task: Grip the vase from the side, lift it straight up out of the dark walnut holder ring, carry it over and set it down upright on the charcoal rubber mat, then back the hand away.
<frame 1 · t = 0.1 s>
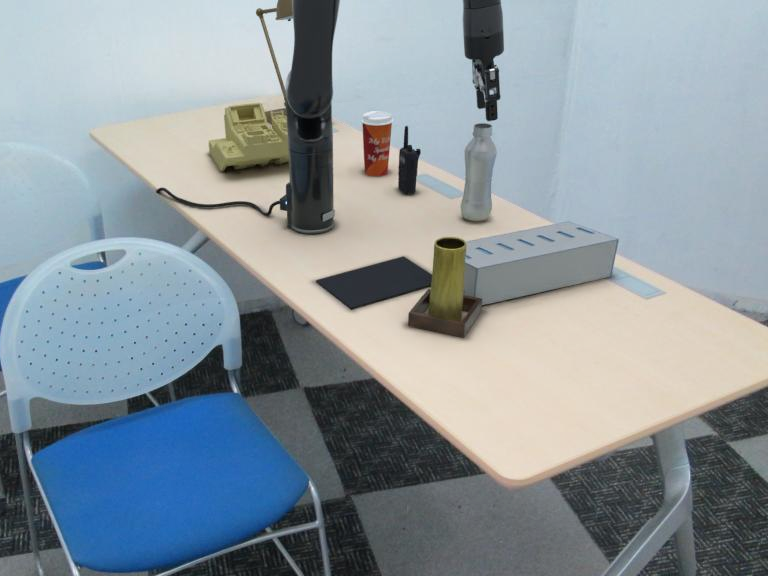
hand: (487, 113, 173), 22 cm above the table, tool pointing down, fingers open, 8 cm apart
mat: (378, 282, 162), on the table
holder: (445, 318, 150), on the table
paper cup: (376, 173, 211), on the table
two-way radio: (409, 192, 200), on the table
lamp: (289, 118, 252), on the table
warehouse: (521, 276, 162), on the table, touching mat
control panel: (253, 163, 220), on the table
vase: (444, 319, 150), resting in holder
plastic bottle: (475, 219, 186), on the table
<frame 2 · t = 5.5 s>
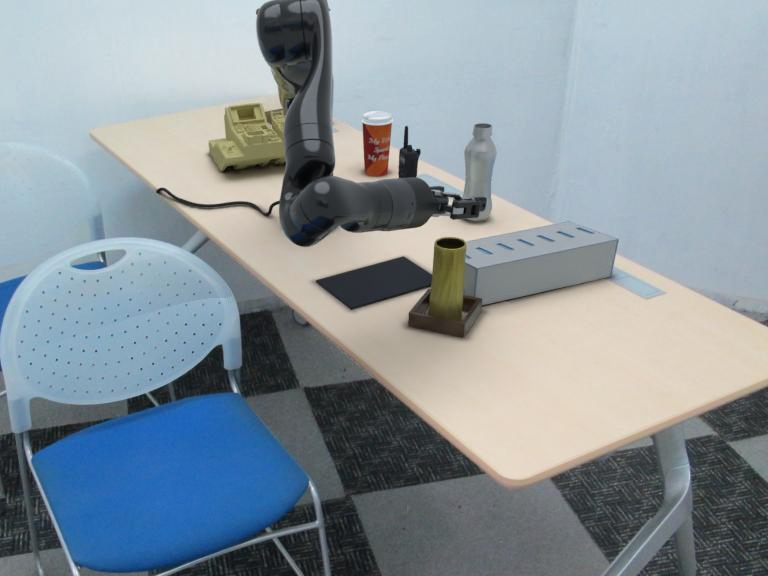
hand: (462, 198, 138), 22 cm above the table, tool horizontal, fingers open, 8 cm apart
nothing on the table moved.
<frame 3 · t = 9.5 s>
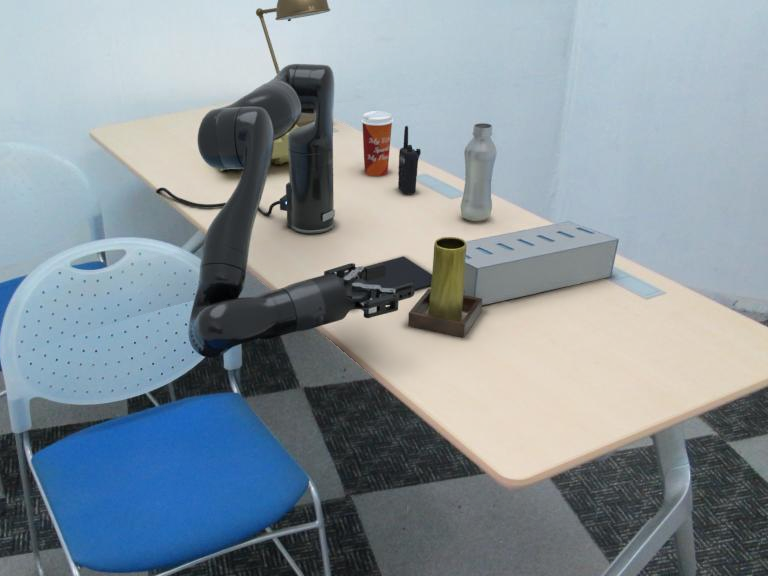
hand: (398, 279, 140), 10 cm above the table, tool horizontal, fingers open, 8 cm apart
nothing on the table moved.
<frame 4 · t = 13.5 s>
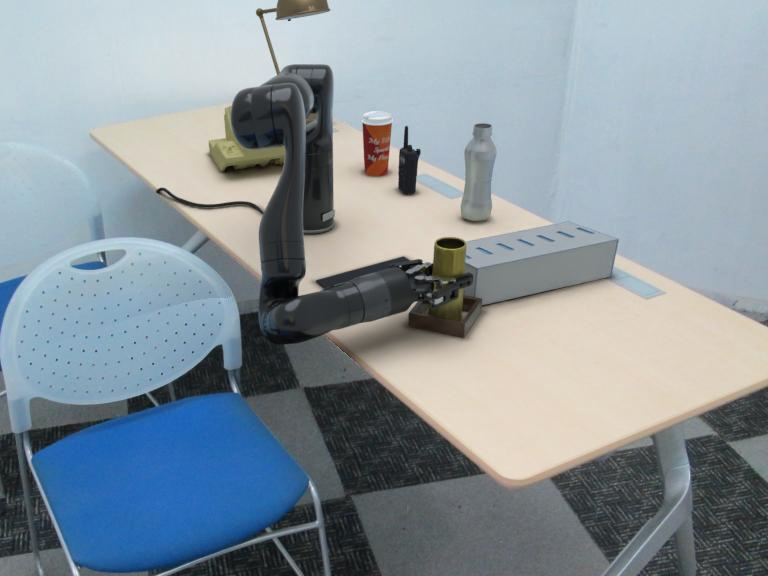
hand: (460, 271, 146), 8 cm above the table, tool horizontal, fingers closed on vase, 5 cm apart
vase: (444, 319, 150), resting in holder, touching gripper
everything else where it was.
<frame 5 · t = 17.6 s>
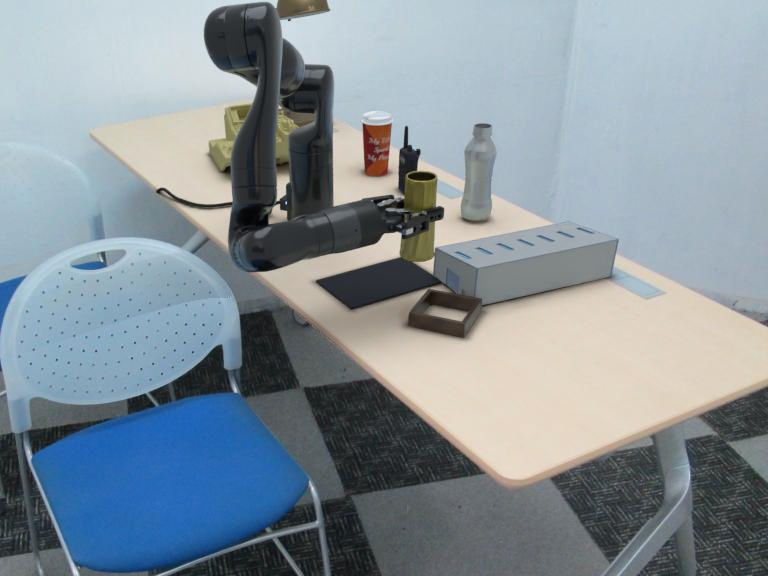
hand: (431, 206, 146), 18 cm above the table, tool horizontal, fingers closed on vase, 5 cm apart
vase: (416, 256, 150), point 9 cm above the table, touching gripper
everything else where it was.
when the fingers open (9 cm above the table, at t = 22.2 s): vase stays where it is, resting on mat.
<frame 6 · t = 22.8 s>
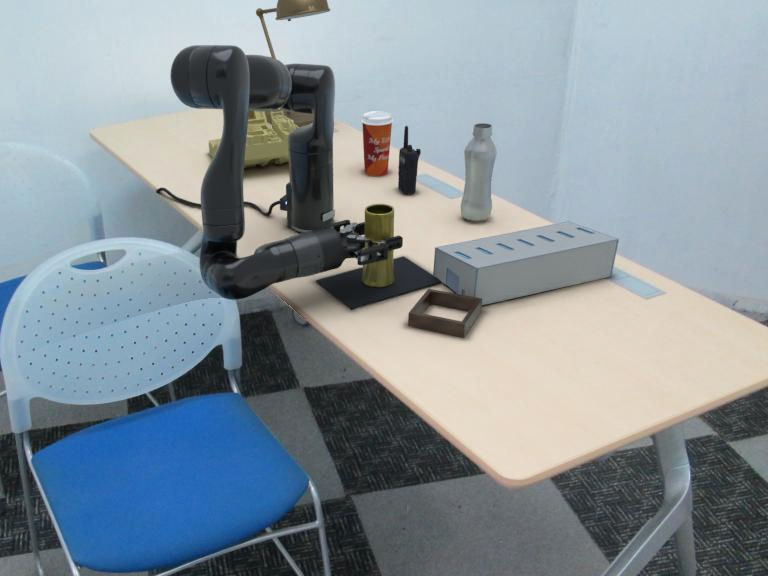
hand: (388, 233, 157), 10 cm above the table, tool horizontal, fingers open, 8 cm apart
vase: (378, 281, 162), resting on mat
everything else where it was.
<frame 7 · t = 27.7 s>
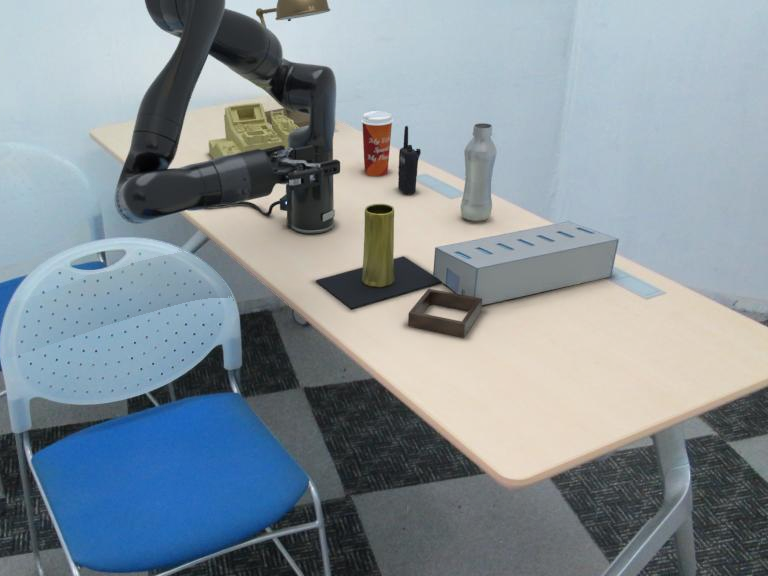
hand: (326, 158, 143), 26 cm above the table, tool horizontal, fingers open, 8 cm apart
nothing on the table moved.
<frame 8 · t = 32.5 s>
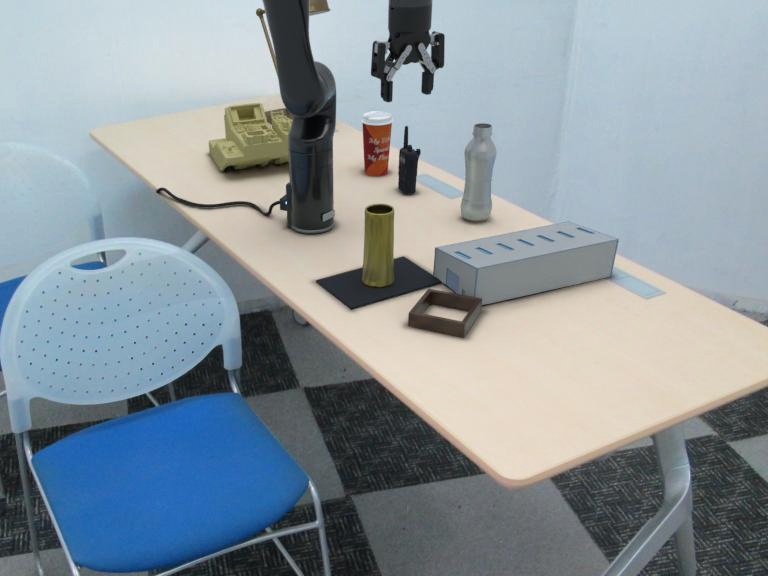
hand: (406, 97, 157), 30 cm above the table, tool pointing down, fingers open, 8 cm apart
nothing on the table moved.
at the end: vase 0.2 cm from the mat (horizontally); vase tilted 0°; the gripper is holding nothing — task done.
